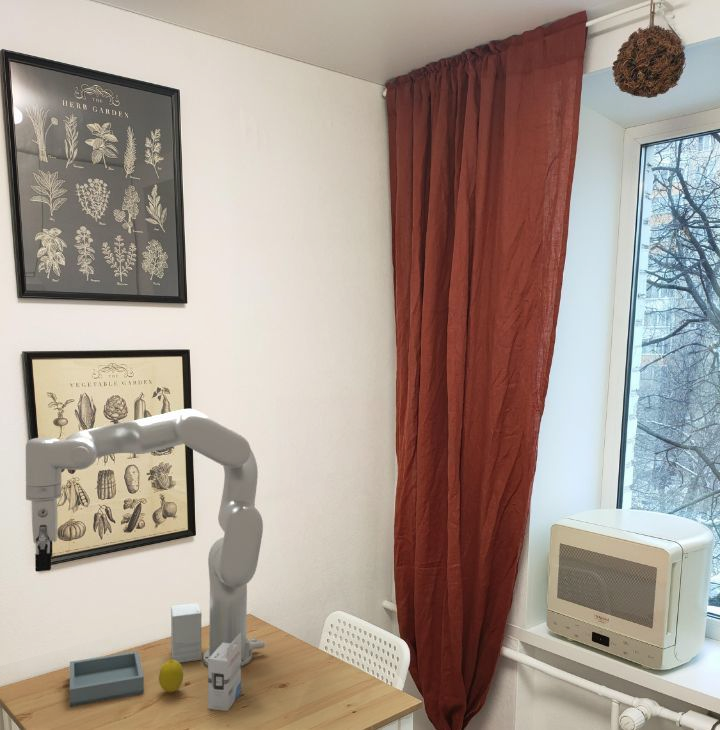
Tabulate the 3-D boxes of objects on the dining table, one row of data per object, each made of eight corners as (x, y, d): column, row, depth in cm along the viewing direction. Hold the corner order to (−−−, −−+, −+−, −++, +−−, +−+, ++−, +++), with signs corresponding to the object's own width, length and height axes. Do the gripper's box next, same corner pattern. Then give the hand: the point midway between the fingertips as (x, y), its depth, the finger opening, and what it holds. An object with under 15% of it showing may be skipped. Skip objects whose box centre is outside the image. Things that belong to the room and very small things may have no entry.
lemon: (161, 701, 156) (161, 667, 156) (156, 689, 161) (156, 656, 160) (185, 695, 158) (185, 662, 158) (180, 684, 163) (180, 652, 163)
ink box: (222, 690, 161) (222, 629, 161) (241, 692, 160) (242, 631, 160) (207, 709, 153) (207, 645, 152) (227, 712, 152) (228, 647, 151)
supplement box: (198, 647, 183) (199, 601, 182) (201, 660, 176) (202, 612, 175) (170, 651, 180) (170, 604, 180) (172, 664, 173) (172, 615, 173)
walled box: (138, 666, 172) (138, 650, 172) (143, 693, 159) (143, 676, 159) (69, 677, 166) (69, 661, 165) (69, 706, 153) (69, 689, 153)
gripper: (60, 498, 151) (61, 574, 151) (62, 482, 167) (62, 551, 167) (23, 501, 148) (23, 578, 149) (28, 484, 164) (28, 554, 164)
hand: (44, 563), depth 158 cm, fingers open, 9 cm apart
